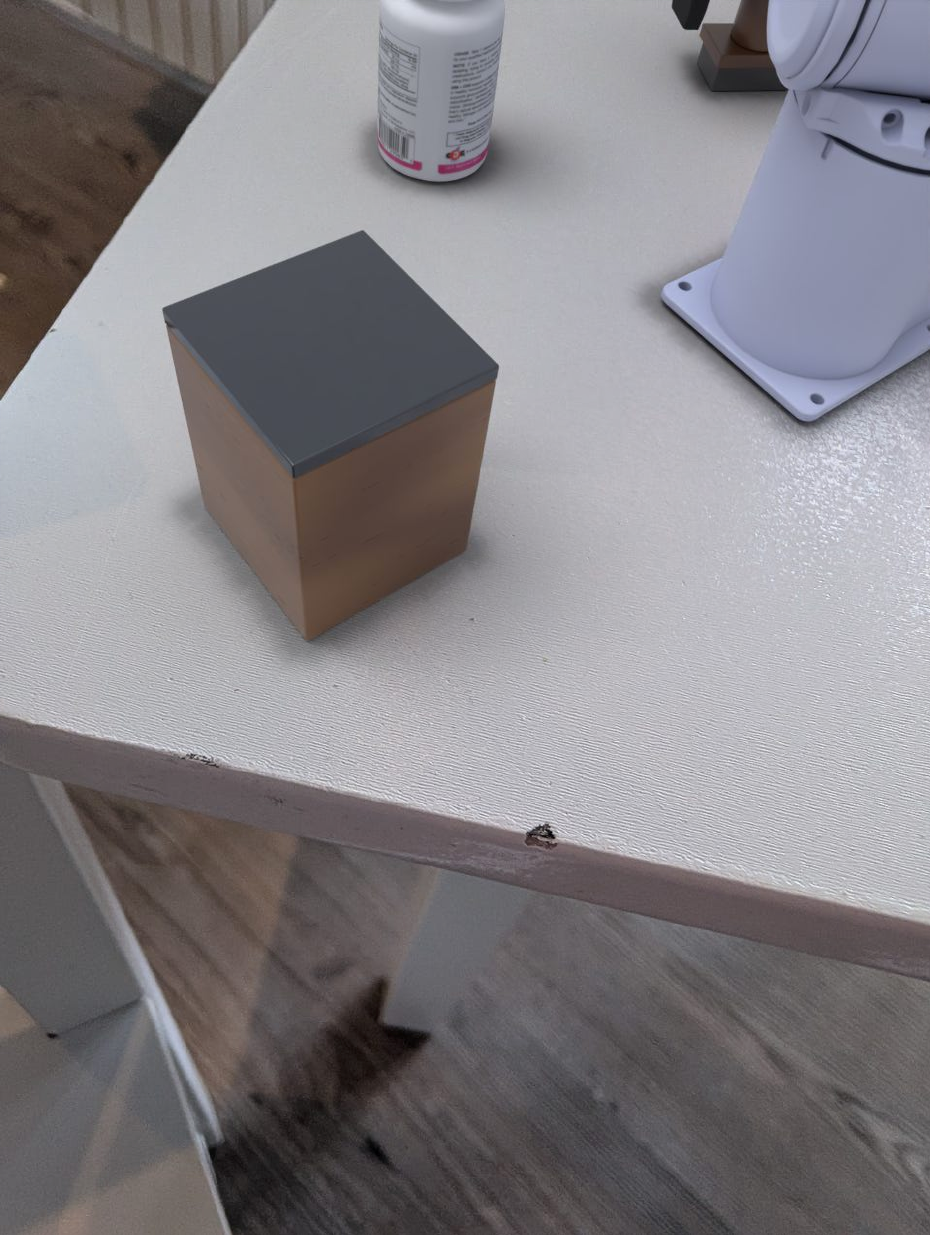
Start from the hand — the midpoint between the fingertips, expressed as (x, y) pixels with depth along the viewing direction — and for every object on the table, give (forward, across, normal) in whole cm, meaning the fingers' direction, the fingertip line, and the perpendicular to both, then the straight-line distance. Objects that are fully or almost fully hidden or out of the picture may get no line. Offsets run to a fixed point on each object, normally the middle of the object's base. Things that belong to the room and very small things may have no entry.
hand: (761, 18), depth 45 cm
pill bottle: (+3, +16, +5) cm, 17 cm away
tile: (-5, +23, +25) cm, 34 cm away
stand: (+3, +23, +25) cm, 34 cm away
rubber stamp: (+3, 0, 0) cm, 3 cm away
